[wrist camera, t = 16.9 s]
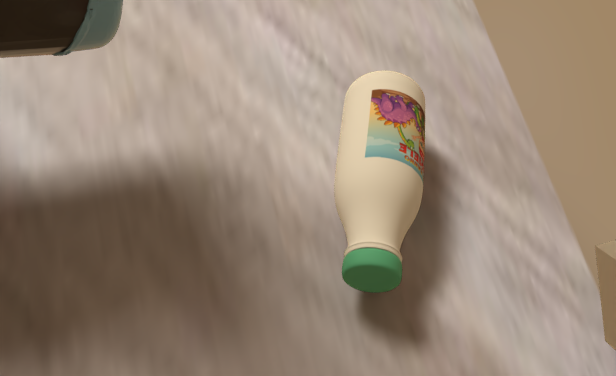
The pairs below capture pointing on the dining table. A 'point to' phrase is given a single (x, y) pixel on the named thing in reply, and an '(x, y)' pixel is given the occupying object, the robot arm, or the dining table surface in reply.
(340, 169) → the milk bottle
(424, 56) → the dining table surface
